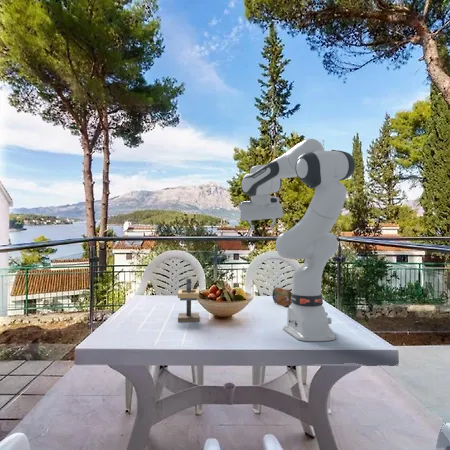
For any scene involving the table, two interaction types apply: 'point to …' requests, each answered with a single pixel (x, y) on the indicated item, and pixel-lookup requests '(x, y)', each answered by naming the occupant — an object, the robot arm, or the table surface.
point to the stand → (188, 306)
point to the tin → (282, 296)
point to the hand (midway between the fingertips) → (262, 228)
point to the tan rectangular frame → (188, 294)
